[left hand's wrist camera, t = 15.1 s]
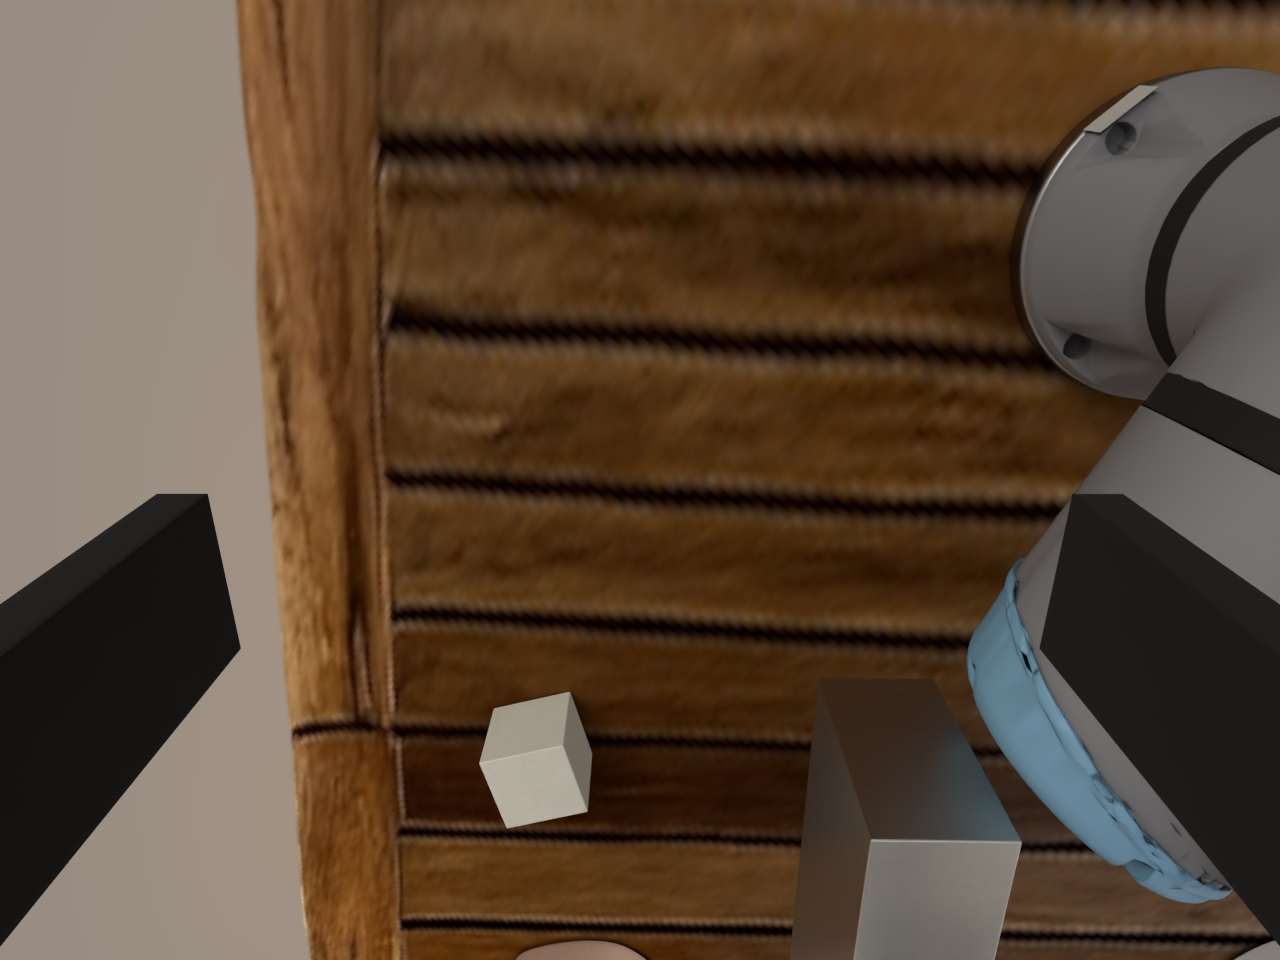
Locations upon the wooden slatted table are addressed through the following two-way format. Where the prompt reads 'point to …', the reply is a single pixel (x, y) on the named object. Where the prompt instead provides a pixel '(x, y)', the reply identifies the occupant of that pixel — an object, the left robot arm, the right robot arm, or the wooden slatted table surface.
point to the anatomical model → (581, 951)
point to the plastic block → (537, 760)
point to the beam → (898, 831)
